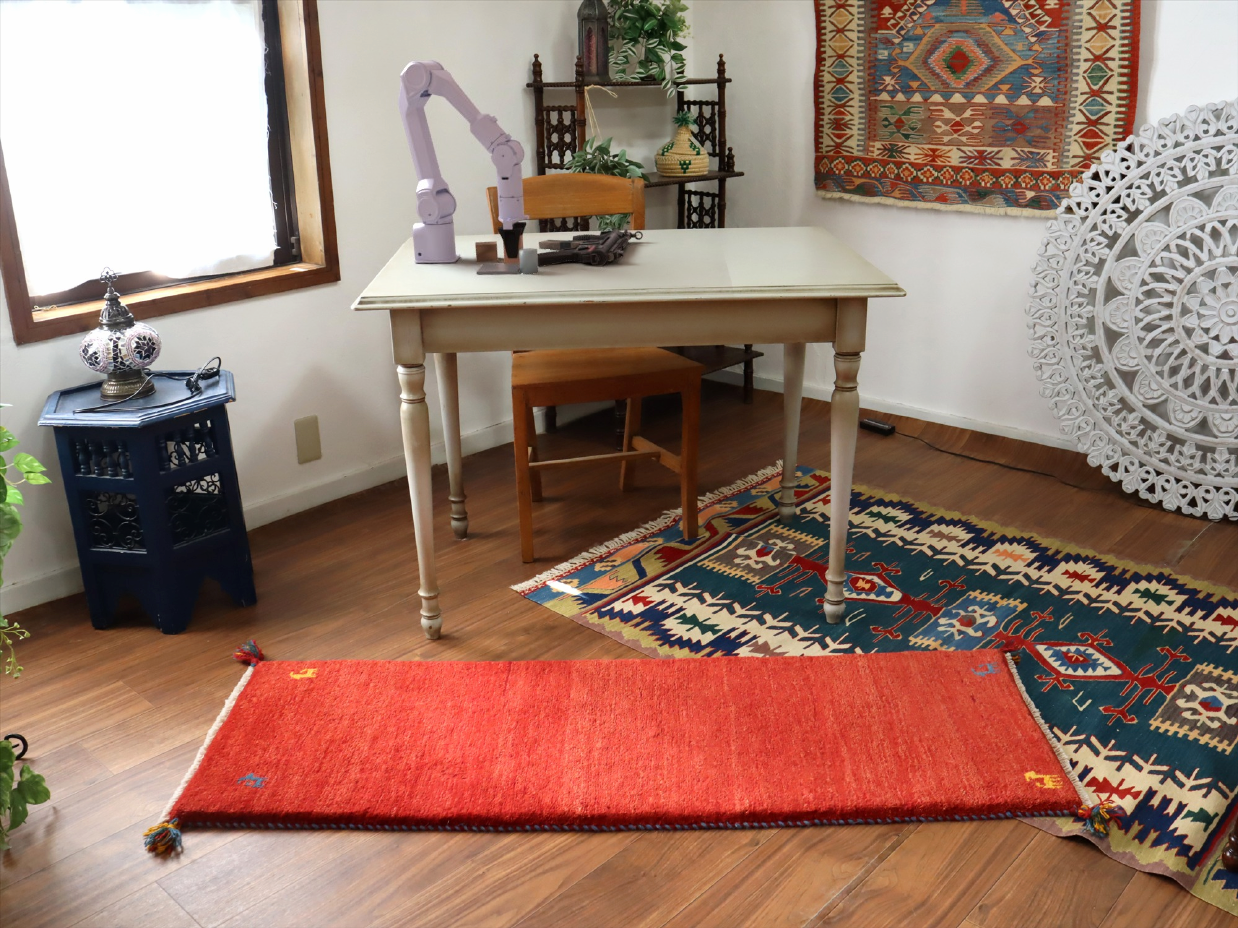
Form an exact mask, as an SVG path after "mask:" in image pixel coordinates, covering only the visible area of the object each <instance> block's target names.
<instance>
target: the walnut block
mask: <svg viewBox="0 0 1238 928" xmlns="http://www.w3.org/2000/svg"><path fill="white" fill-rule="evenodd" d="M474 242H475V241H474ZM474 245H475V258H476V263H477V262H479V263H480V262H483V263H484V262H498V261H499V254H498V243H497V241H495V240H494V241H479V242H477V241H476V242H475V243H474Z"/></svg>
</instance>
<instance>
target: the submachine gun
mask: <svg viewBox="0 0 1238 928" xmlns="http://www.w3.org/2000/svg"><path fill="white" fill-rule="evenodd" d="M637 234H639V235H640V237H638V235H637ZM643 237H644V235H643V232H642V231H640V230H637V231H635V232H634V233H632V232H631V231H629V230H628V229H627V228H625V229H624V231H620V229H617V228H613V229H612V230H601V231H600V233H599V234H589V233H588V234H584V233H583V234H578V235H577V234H576V235H573V236H572V240H569V239H567V240H566V239H565V240H563V239H560V240H559V239H547V240H541V241H538V248H539V249H541V250H546V249H550V250H549V251H545V252H539V253H538V252H537V254H538V267H543V266H544V265H546V266H551V265H556V264H561V263H566V262H580V263H581V264H591V265H592V266H595V267H602V266H604V265H605V264H606V263H607V262H608V261H609V262H613V261H614V260H622V259H623V260H624V259H625V257H624V255H623V253H624V251H623V250H624V249H625V247H626V246H627V245H628V244H629V241H630V240H631V239H632V238H634V239H635V240H637V241H640V240H642V239H643Z"/></svg>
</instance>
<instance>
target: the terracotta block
mask: <svg viewBox="0 0 1238 928" xmlns="http://www.w3.org/2000/svg"><path fill="white" fill-rule="evenodd" d="M523 236H524V234H523V235H520V239H519V249H518V256H517V258H508V257H507V253H506V250H505V246H504V242H503V241H502V244H503V260H504V261H503V262H504V263H503V264H513V263H520V259H519V250H520V249H524V238H523Z"/></svg>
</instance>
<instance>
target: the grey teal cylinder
mask: <svg viewBox="0 0 1238 928" xmlns="http://www.w3.org/2000/svg"><path fill="white" fill-rule="evenodd" d="M519 259H520V270H519V273H520V274H521V273H523V274H522V275H534V274H533V273H536V274H539V266H538V249H537V248H533V247H532V248H531V247H530V248H526V247H525V248H523V249H520V250H519Z"/></svg>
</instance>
